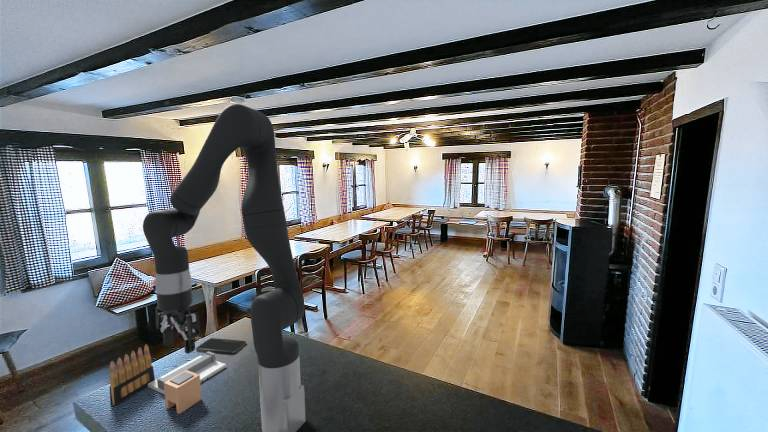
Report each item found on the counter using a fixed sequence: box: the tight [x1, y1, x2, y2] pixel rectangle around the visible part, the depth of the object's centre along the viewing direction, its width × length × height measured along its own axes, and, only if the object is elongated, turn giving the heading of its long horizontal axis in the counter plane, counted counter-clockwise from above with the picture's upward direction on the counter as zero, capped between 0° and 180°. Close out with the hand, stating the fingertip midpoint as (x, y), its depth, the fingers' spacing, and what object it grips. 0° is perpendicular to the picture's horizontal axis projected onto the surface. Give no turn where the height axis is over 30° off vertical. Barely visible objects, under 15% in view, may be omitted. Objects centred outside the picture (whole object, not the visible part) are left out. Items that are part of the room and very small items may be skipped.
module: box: [164, 370, 202, 415], centre depth 84 cm, size 5×6×7 cm
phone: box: [195, 337, 247, 356], centre depth 113 cm, size 8×1×15 cm
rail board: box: [147, 351, 227, 395], centre depth 96 cm, size 12×16×4 cm
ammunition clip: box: [109, 344, 156, 407], centre depth 88 cm, size 11×2×12 cm, turn 162°
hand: (179, 348), depth 83 cm, fingers open, 8 cm apart
